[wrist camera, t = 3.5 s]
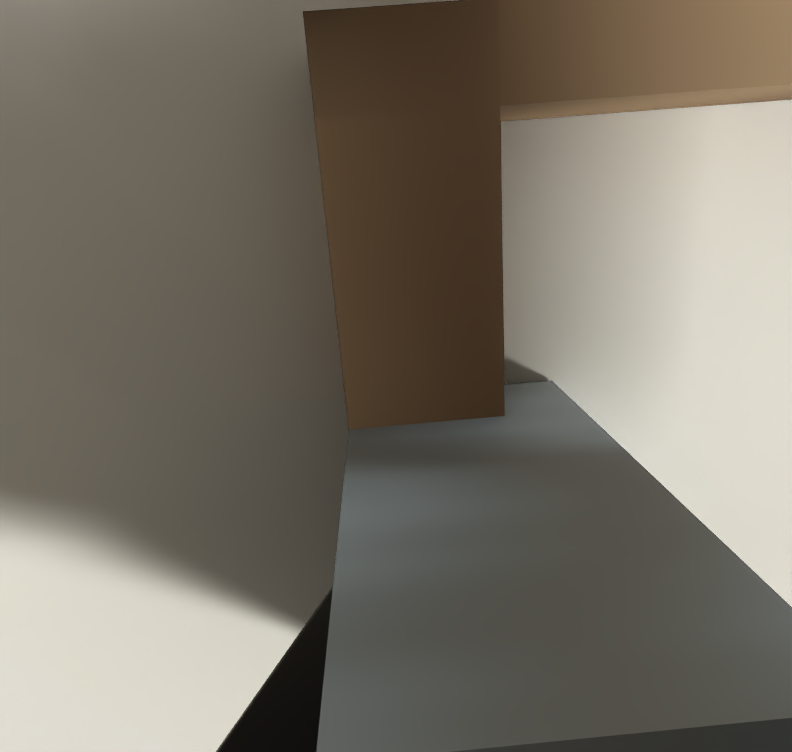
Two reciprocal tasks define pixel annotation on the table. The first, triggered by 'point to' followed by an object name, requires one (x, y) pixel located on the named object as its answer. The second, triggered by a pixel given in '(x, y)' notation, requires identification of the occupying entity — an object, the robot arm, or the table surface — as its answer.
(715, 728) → the wooden tray frame
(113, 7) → the table surface
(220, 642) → the table surface
